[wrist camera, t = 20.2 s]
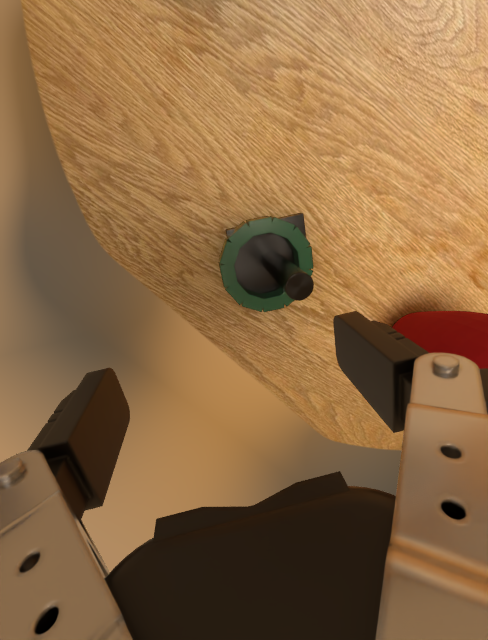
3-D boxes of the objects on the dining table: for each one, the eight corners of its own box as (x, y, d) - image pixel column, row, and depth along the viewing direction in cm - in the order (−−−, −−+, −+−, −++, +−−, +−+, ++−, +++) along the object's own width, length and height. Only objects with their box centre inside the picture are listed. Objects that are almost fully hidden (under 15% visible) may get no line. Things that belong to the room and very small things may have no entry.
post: (241, 301, 39) (256, 346, 27) (225, 229, 36) (235, 244, 24) (309, 285, 40) (355, 323, 27) (300, 212, 36) (348, 219, 24)
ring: (229, 312, 38) (231, 319, 36) (211, 227, 34) (211, 228, 32) (310, 295, 39) (317, 300, 37) (301, 208, 35) (307, 209, 33)
